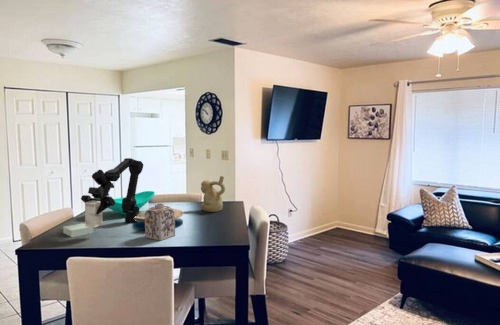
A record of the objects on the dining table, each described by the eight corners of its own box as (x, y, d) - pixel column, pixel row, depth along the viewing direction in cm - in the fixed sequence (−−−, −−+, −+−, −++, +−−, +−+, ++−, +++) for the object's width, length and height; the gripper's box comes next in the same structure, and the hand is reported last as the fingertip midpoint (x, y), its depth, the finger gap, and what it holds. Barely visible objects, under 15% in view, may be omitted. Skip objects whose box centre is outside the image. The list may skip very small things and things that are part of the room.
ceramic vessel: (207, 207, 275) (206, 173, 273) (230, 209, 267) (230, 175, 265) (194, 211, 260) (194, 176, 257) (219, 214, 252) (218, 177, 249)
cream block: (93, 223, 202) (92, 200, 201) (102, 224, 200) (102, 201, 199) (85, 226, 197) (84, 202, 195) (94, 227, 195) (94, 203, 193)
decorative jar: (160, 232, 207) (159, 201, 206) (175, 235, 202) (175, 203, 200) (144, 238, 197) (143, 205, 196) (160, 241, 191) (159, 207, 190)
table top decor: (103, 221, 233) (103, 201, 232) (92, 214, 255) (91, 195, 254) (162, 212, 257) (161, 194, 256) (146, 206, 279) (146, 189, 278)
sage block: (85, 229, 217) (84, 222, 217) (93, 233, 209) (93, 226, 208) (63, 233, 208) (63, 226, 208) (71, 237, 200) (71, 230, 200)
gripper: (82, 180, 203) (68, 204, 193) (111, 181, 197) (98, 206, 188) (92, 192, 211) (79, 215, 201) (120, 193, 206) (108, 217, 196)
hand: (91, 213), depth 196 cm, fingers closed on cream block, 7 cm apart
